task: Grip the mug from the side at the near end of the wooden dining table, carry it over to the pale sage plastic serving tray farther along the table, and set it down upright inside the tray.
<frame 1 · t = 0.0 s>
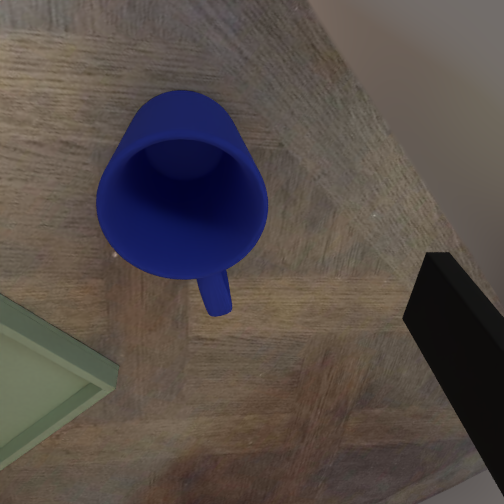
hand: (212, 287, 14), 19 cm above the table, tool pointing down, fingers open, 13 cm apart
mug: (192, 163, 31), on the table
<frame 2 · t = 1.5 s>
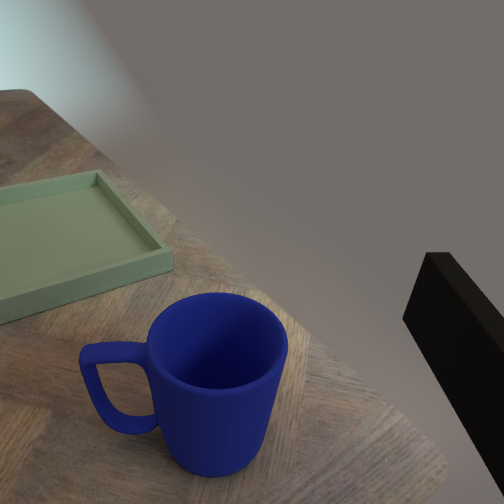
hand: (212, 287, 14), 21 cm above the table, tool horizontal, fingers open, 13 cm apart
mug: (187, 440, 32), on the table
tray: (57, 241, 51), on the table
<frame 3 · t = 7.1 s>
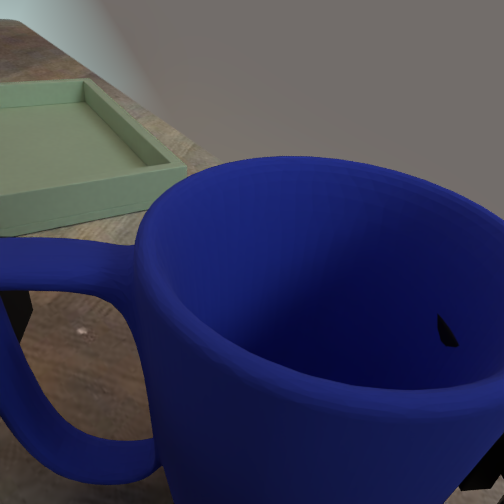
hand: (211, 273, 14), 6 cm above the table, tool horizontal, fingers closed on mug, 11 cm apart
mug: (222, 500, 15), on the table, touching gripper
tray: (13, 159, 34), on the table
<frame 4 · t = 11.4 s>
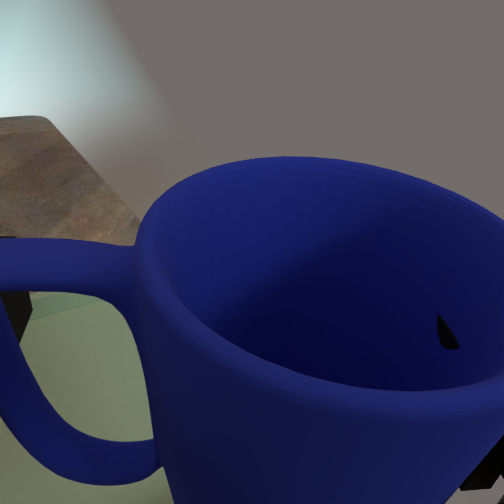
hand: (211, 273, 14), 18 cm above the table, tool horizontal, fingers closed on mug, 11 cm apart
mug: (222, 501, 15), point 12 cm above the table, touching gripper
tray: (76, 417, 30), on the table
when the fingers open (8 cm above the table, at t = 15.7 s): mug stays where it is, resting on tray.
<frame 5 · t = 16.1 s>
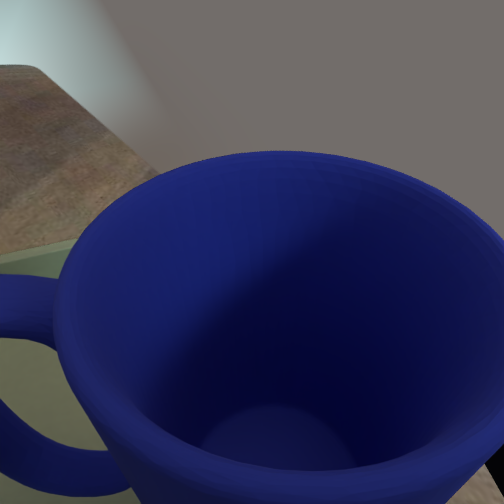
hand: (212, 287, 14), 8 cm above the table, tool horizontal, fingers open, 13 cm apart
mug: (213, 499, 15), point 2 cm above the table, touching gripper, tray
tray: (75, 453, 17), on the table
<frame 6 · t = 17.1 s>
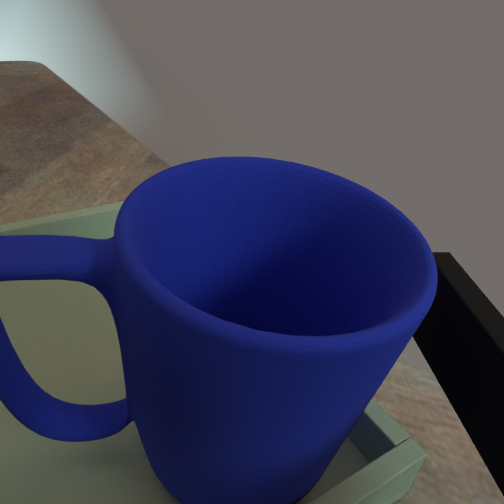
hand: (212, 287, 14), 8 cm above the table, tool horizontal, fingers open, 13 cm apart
mug: (183, 447, 17), point 1 cm above the table, touching gripper, tray
tray: (89, 380, 20), on the table
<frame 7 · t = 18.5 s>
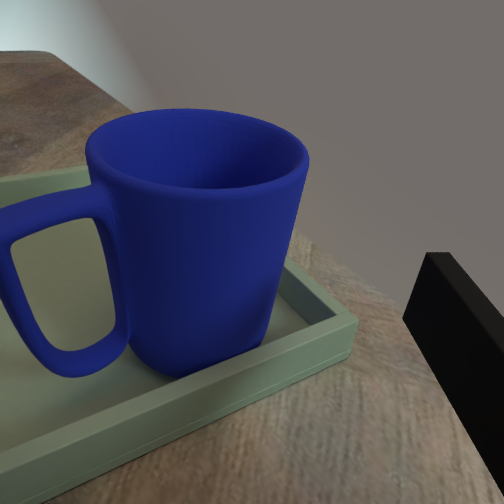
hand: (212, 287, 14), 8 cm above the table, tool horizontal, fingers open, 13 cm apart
mug: (162, 356, 22), resting on tray
tray: (107, 285, 26), on the table
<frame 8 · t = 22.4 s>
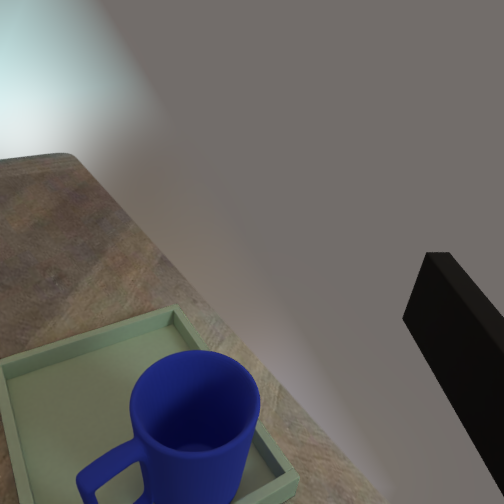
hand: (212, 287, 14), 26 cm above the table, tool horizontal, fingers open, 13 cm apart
mug: (172, 500, 34), resting on tray
tray: (133, 434, 38), on the table
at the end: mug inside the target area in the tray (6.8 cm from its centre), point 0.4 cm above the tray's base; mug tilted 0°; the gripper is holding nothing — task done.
